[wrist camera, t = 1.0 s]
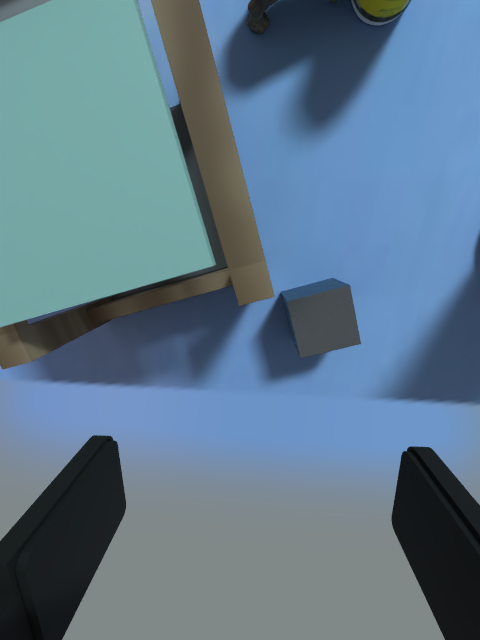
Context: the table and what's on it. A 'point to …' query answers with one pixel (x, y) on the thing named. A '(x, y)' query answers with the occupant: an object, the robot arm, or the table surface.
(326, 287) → the block
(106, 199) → the grey and green slab
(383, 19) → the supplement bottle
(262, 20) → the rhino figurine
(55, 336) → the frame
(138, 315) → the table surface
